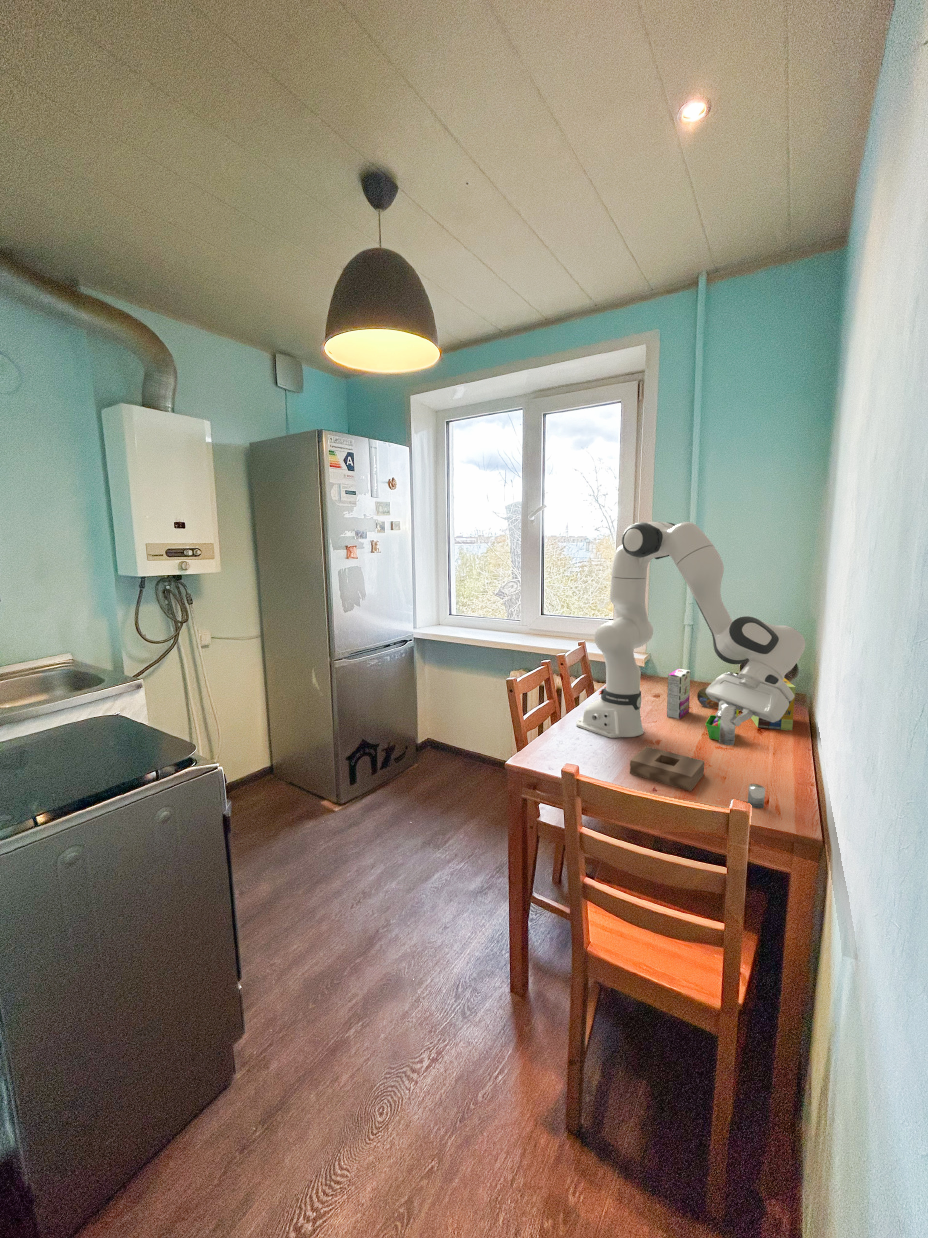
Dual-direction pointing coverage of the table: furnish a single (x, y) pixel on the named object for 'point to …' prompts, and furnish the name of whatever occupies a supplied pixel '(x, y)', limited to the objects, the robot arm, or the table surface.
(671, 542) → the robot arm
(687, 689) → the candy bar box
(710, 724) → the fruit basket
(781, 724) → the protein box
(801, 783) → the table surface
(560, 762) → the table surface
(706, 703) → the tin
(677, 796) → the table surface
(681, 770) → the hole block
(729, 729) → the long pin
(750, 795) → the short pin
